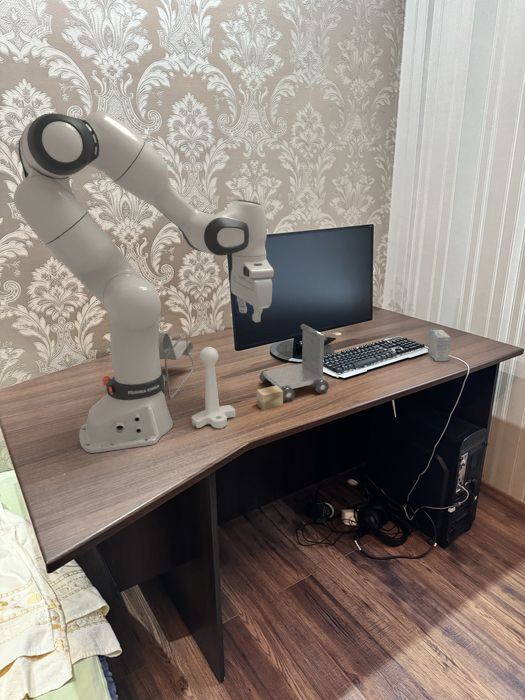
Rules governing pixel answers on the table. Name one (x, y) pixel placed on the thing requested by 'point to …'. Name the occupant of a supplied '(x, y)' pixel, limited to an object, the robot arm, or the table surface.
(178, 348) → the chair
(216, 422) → the joystick
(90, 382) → the table surface
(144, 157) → the robot arm
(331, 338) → the microphone
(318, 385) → the cart
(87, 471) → the table surface
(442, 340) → the medicine box
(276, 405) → the chock
